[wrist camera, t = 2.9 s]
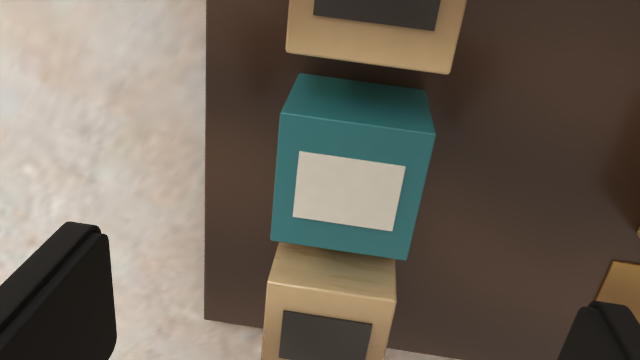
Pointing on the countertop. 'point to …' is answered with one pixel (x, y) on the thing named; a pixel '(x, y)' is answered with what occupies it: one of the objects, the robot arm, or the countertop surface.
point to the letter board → (455, 172)
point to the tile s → (351, 165)
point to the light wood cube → (378, 31)
